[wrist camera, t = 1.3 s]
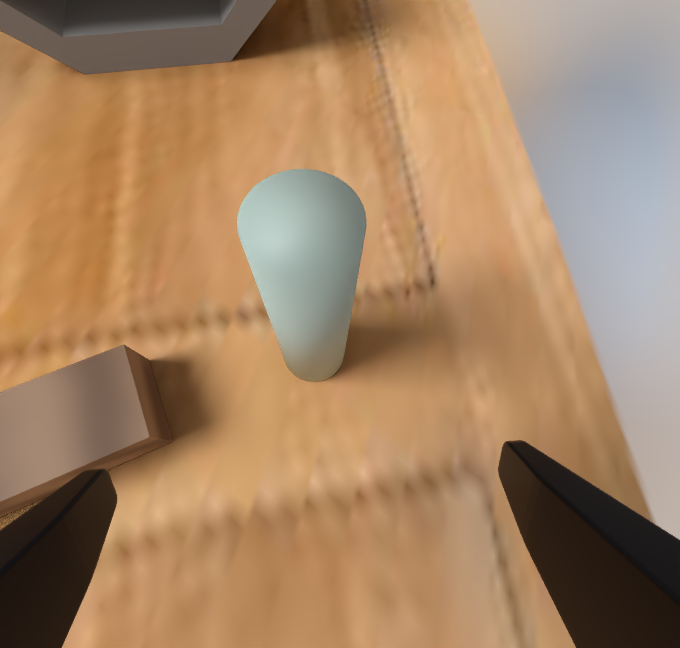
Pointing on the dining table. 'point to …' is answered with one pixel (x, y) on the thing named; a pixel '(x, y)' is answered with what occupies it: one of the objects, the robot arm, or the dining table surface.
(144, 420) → the brown wooden block
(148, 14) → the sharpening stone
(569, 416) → the dining table surface
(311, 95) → the dining table surface
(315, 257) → the post
